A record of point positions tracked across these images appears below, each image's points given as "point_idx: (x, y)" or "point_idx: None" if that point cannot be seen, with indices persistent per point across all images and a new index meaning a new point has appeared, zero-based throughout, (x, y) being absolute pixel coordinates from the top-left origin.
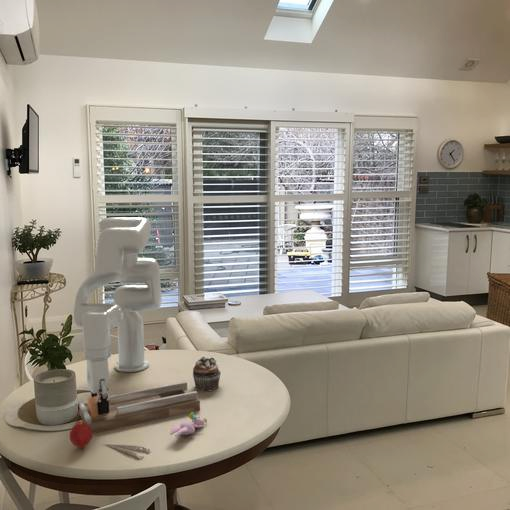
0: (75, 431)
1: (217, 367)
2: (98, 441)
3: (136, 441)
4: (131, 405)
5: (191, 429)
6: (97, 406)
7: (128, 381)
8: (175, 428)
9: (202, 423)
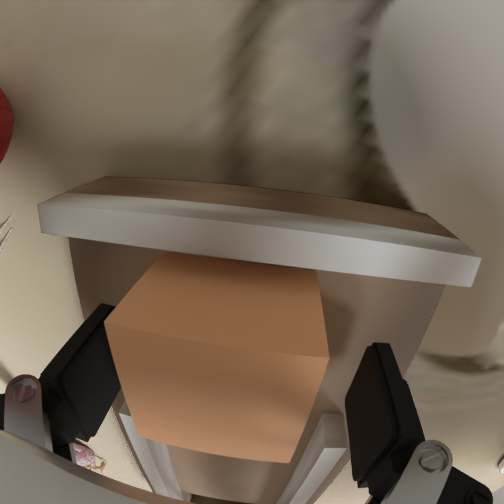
0: None
1: None
2: (30, 206)
3: (16, 323)
4: (137, 453)
5: None
6: (79, 345)
7: (493, 439)
8: None
9: None
